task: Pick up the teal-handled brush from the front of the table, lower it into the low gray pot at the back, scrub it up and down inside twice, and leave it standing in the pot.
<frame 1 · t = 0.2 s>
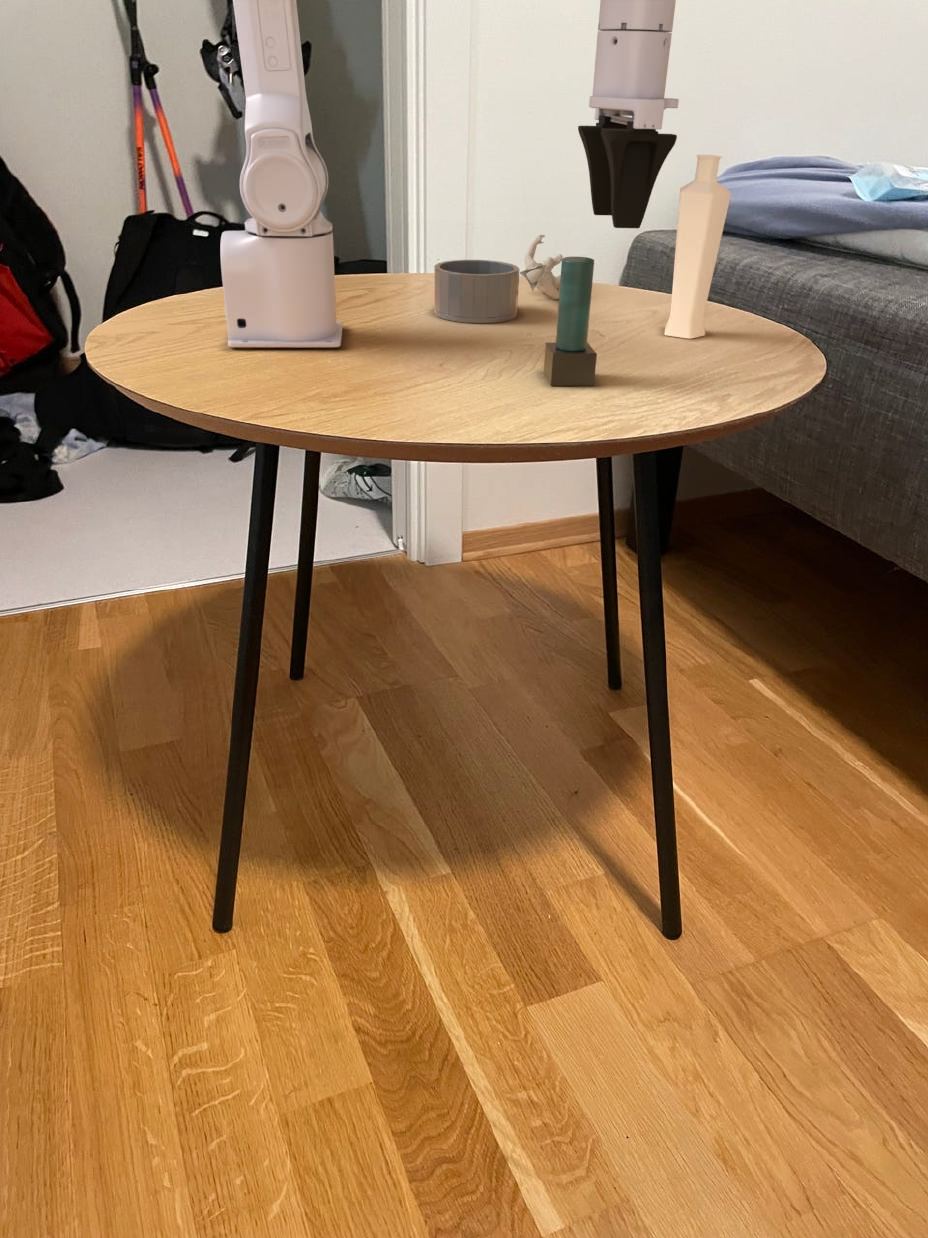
hand: (615, 220, 79), 10 cm above the table, tool pointing down, fingers open, 7 cm apart
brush: (568, 379, 73), on the table
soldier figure: (547, 295, 102), on the table
peach faceted vase: (684, 335, 88), on the table
low gray pot: (475, 313, 93), on the table
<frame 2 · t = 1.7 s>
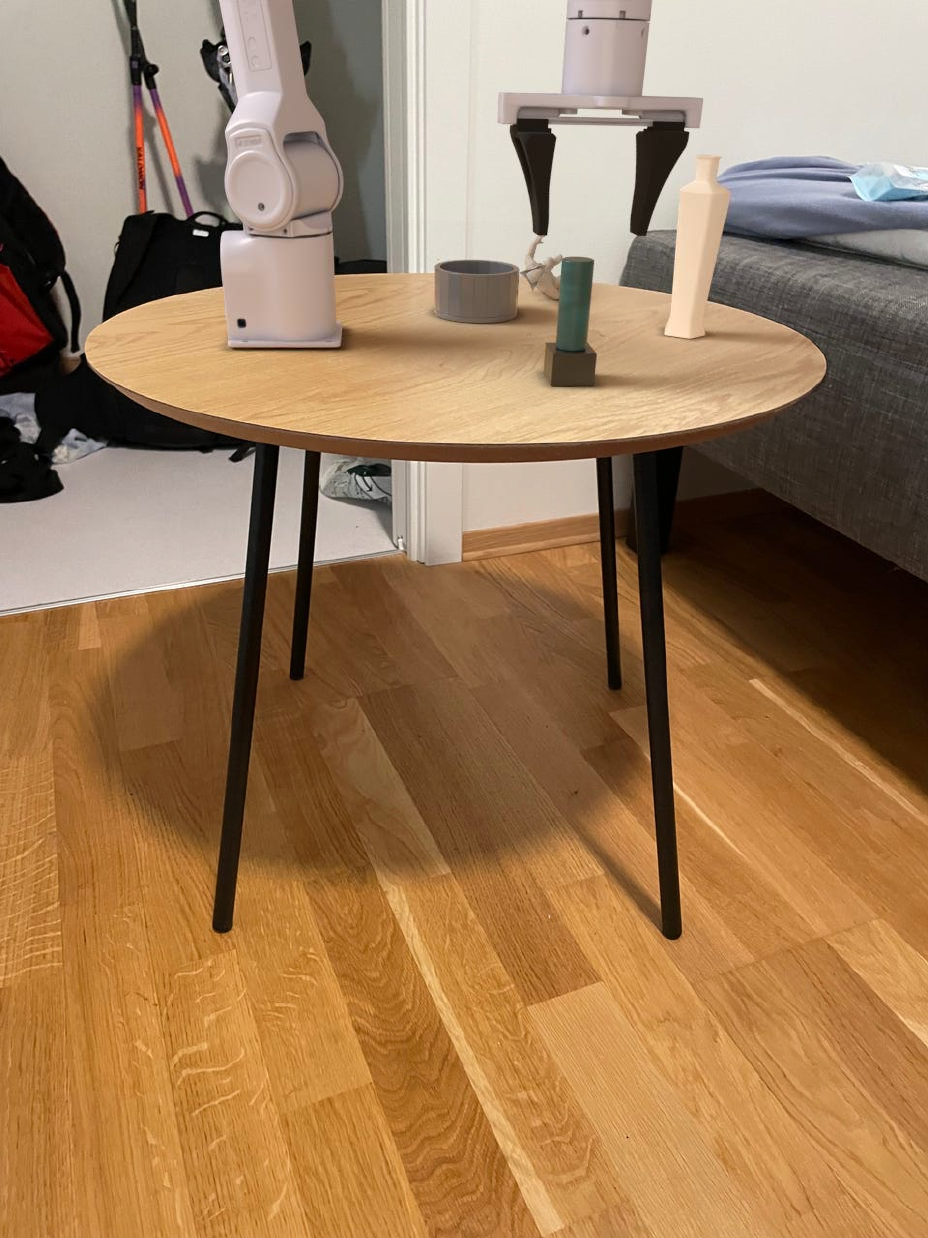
hand: (589, 233, 71), 10 cm above the table, tool pointing down, fingers open, 7 cm apart
nothing on the table moved.
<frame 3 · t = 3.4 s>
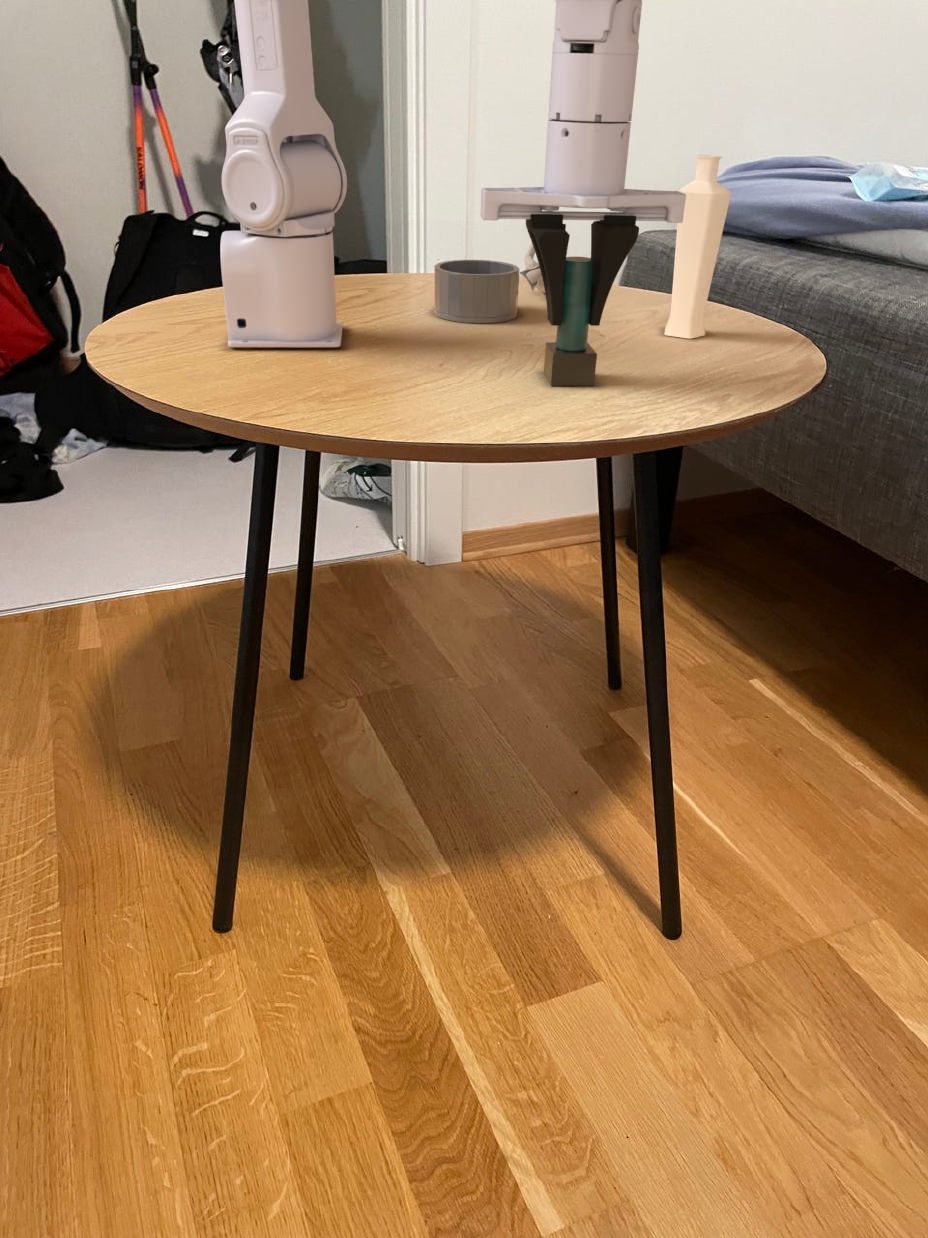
hand: (572, 322, 71), 4 cm above the table, tool pointing down, fingers closed on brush, 2 cm apart
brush: (568, 379, 73), on the table, touching gripper
everything else where it was.
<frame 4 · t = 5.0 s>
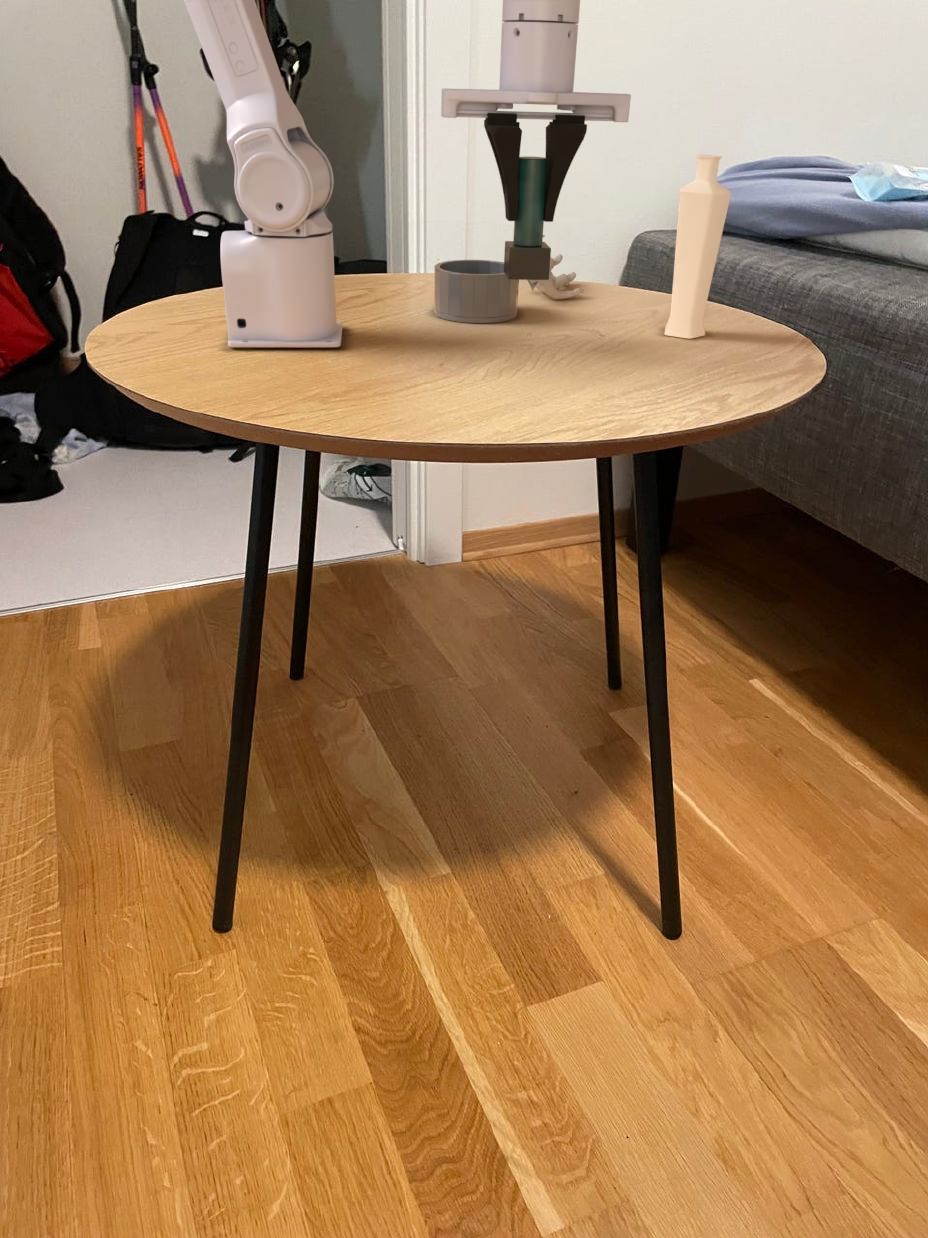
hand: (528, 219, 77), 10 cm above the table, tool pointing down, fingers closed on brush, 2 cm apart
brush: (525, 275, 79), point 6 cm above the table, touching gripper
everything else where it was.
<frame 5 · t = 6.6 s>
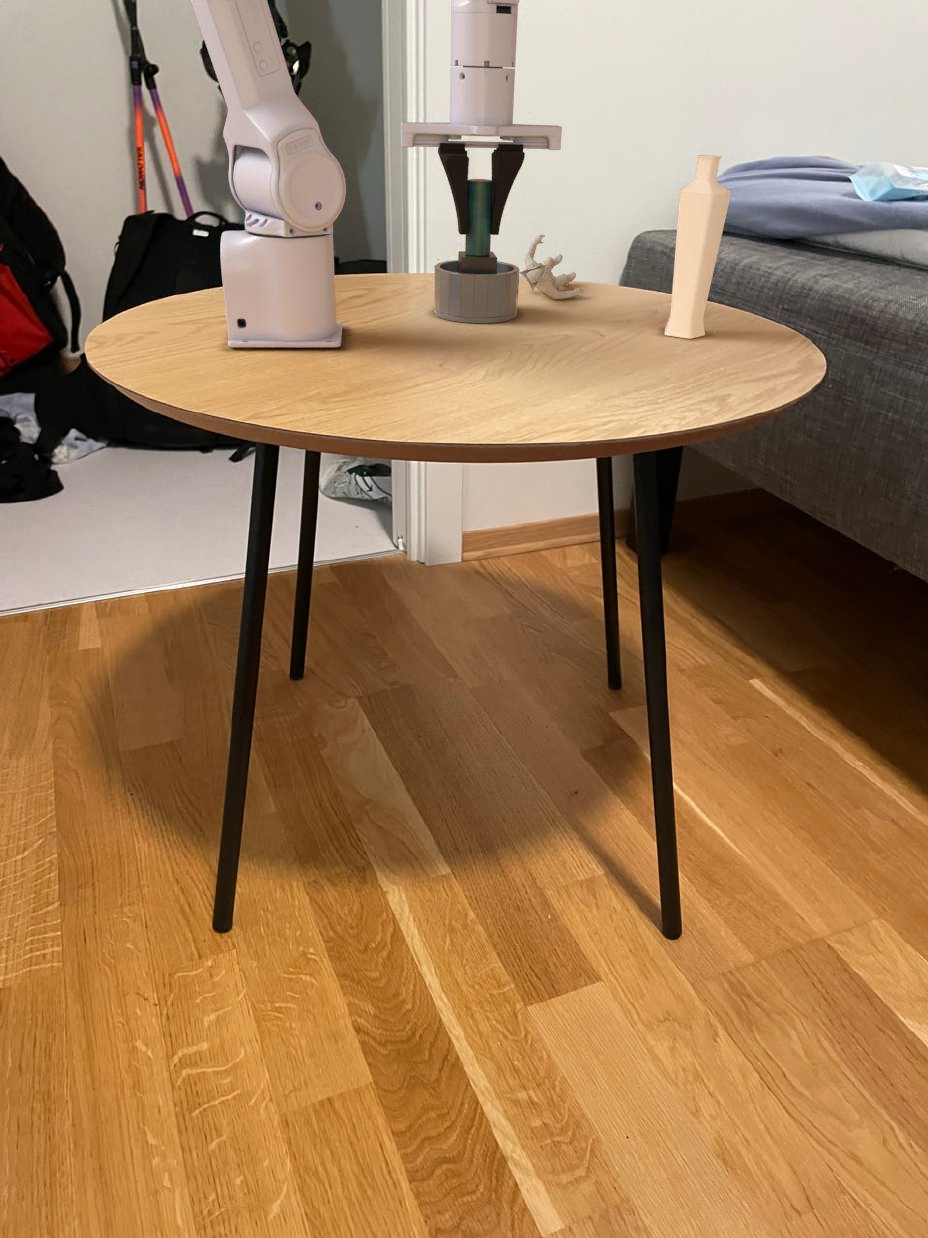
hand: (478, 233, 89), 7 cm above the table, tool pointing down, fingers closed on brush, 2 cm apart
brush: (476, 281, 91), point 3 cm above the table, touching gripper
everything else where it was.
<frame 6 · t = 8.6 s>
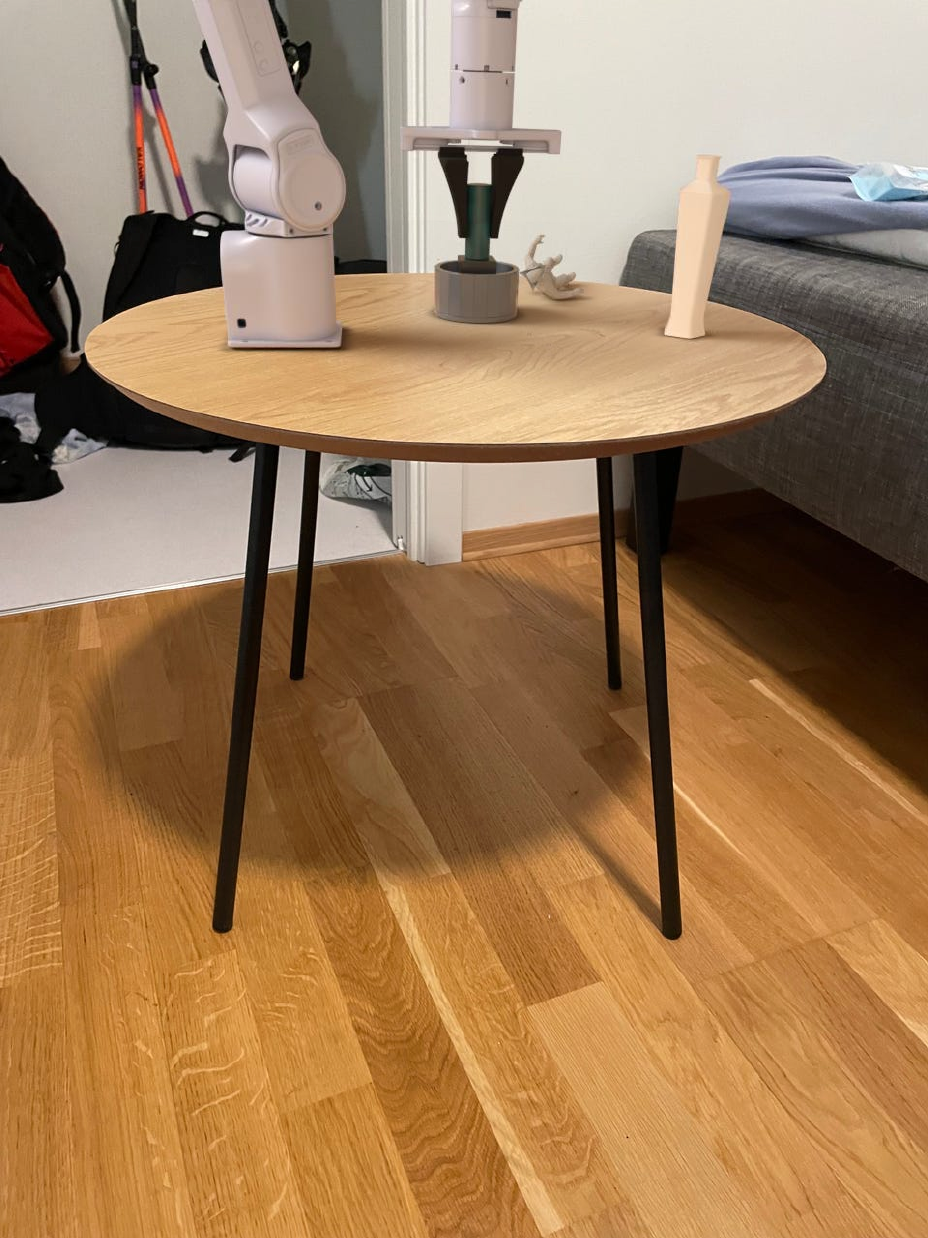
hand: (477, 236, 89), 7 cm above the table, tool pointing down, fingers closed on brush, 2 cm apart
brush: (476, 284, 91), point 3 cm above the table, touching gripper
everything else where it was.
when the fingers open (5 cm above the table, at t = 9.8 s): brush stays where it is, resting on low gray pot.
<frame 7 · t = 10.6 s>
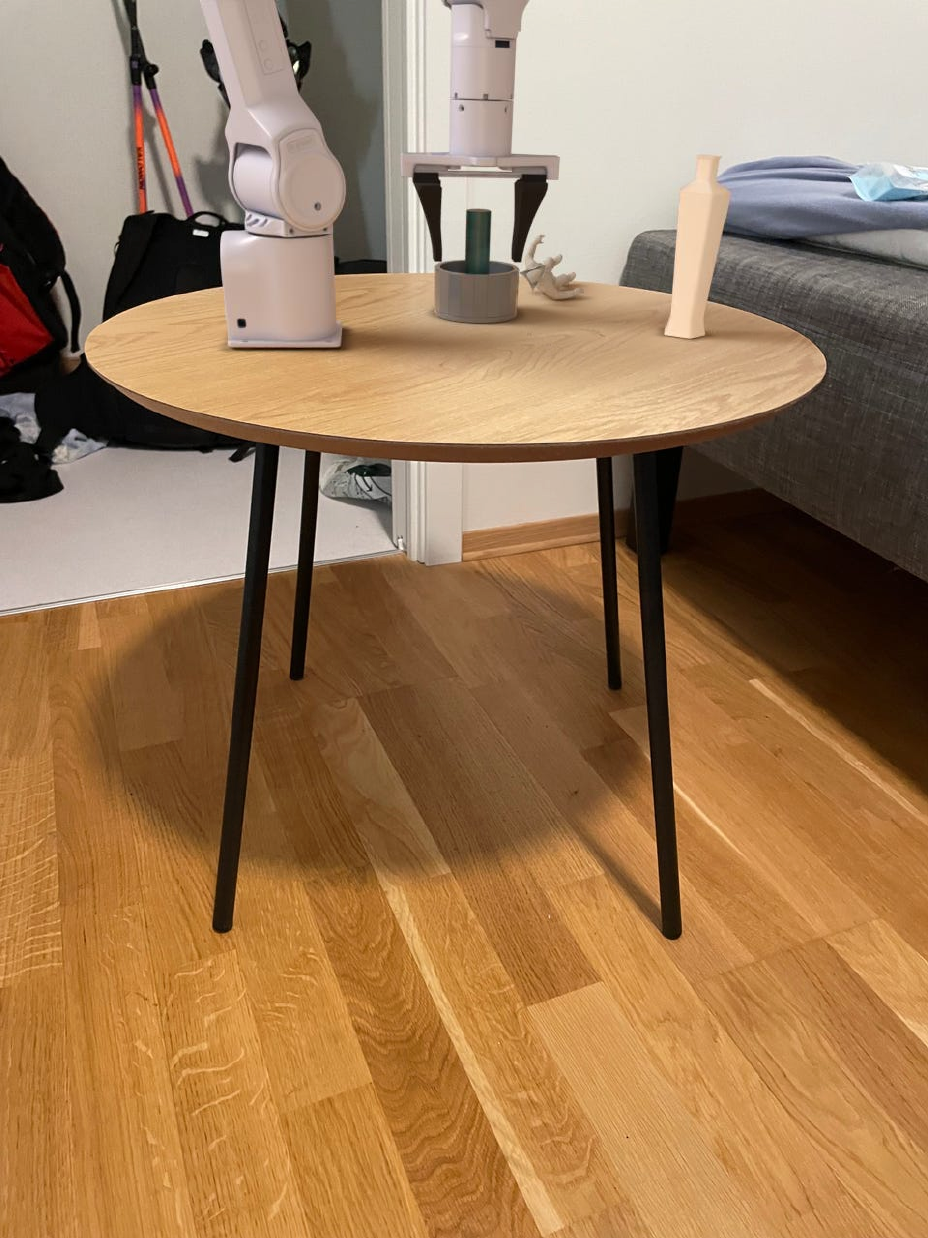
hand: (477, 260, 90), 5 cm above the table, tool pointing down, fingers open, 7 cm apart
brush: (475, 308, 92), resting on low gray pot
everything else where it was.
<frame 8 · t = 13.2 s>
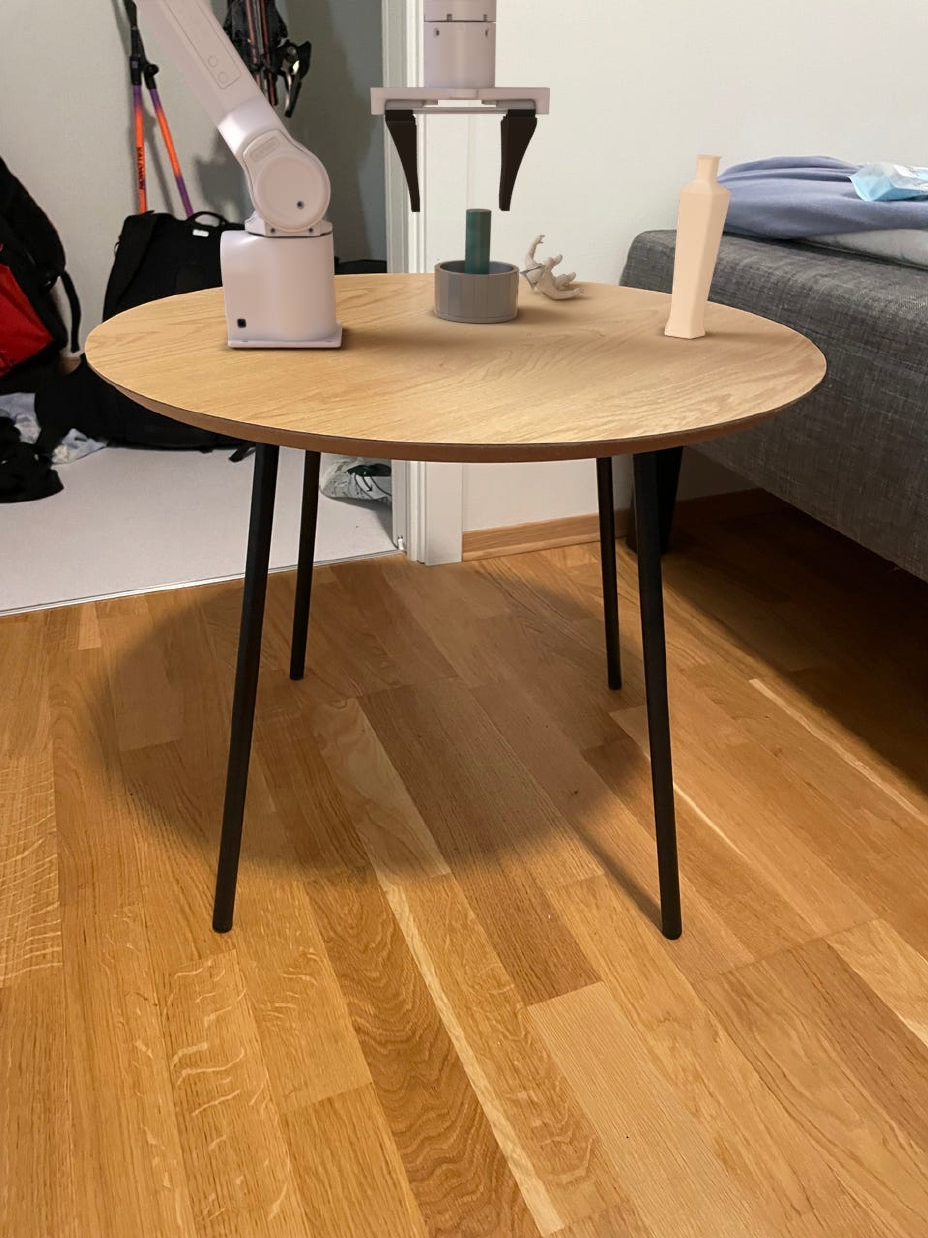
hand: (460, 210, 80), 10 cm above the table, tool pointing down, fingers open, 7 cm apart
nothing on the table moved.
at the end: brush 0.0 cm off-centre in the low gray pot, point 0.5 cm above the low gray pot's base; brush tilted 0°; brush moved 23.6 cm from its start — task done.
